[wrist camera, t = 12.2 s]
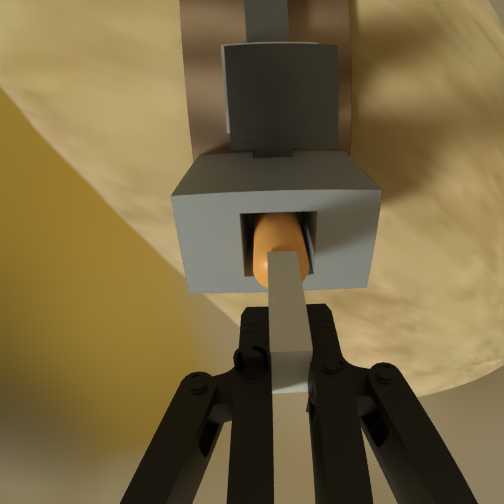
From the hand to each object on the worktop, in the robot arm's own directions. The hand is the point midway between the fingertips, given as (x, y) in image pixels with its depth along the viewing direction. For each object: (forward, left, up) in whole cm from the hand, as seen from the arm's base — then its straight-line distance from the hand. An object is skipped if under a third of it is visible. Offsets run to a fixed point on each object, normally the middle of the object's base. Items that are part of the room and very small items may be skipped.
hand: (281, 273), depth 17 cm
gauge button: (0, 0, -8) cm, 8 cm away
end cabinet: (0, 0, -12) cm, 12 cm away
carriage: (-9, 0, -12) cm, 15 cm away
